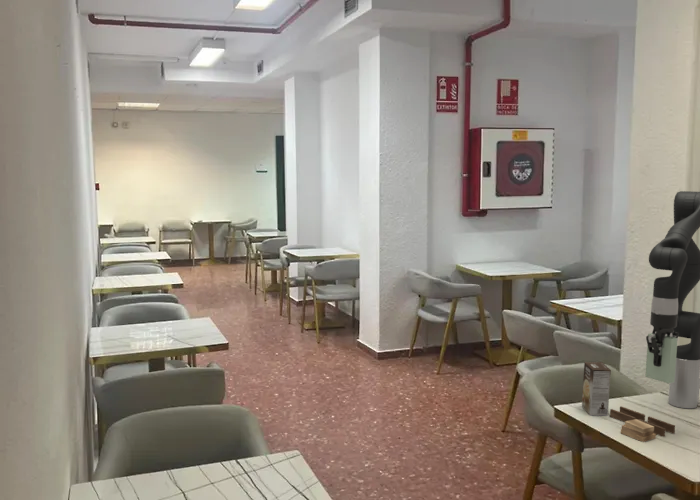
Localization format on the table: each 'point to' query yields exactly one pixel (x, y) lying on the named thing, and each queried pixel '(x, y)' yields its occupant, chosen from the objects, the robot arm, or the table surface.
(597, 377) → the coffee box
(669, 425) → the rack
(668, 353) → the pale green block
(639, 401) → the table surface
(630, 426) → the offcut stack
